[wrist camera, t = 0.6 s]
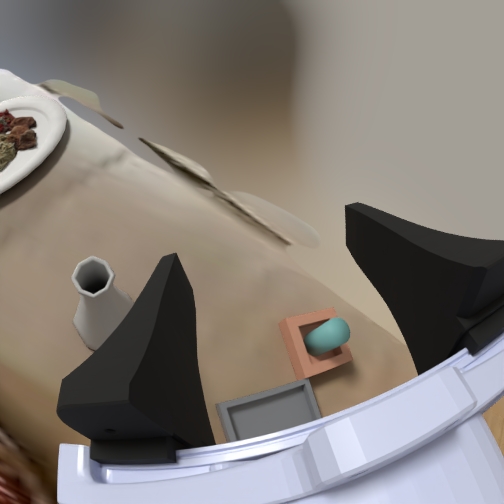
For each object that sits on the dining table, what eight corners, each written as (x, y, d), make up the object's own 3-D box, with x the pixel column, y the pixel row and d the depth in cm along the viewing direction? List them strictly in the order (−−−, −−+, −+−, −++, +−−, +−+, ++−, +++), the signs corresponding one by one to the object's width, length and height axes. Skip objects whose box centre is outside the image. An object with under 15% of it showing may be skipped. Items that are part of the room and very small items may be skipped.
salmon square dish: (344, 363, 32) (353, 359, 31) (297, 380, 29) (305, 378, 28) (325, 312, 35) (333, 307, 34) (278, 323, 32) (285, 318, 31)
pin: (328, 352, 32) (353, 340, 28) (308, 359, 30) (332, 347, 27) (320, 329, 33) (344, 314, 29) (299, 335, 32) (322, 320, 28)
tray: (326, 456, 25) (334, 457, 23) (243, 490, 20) (249, 493, 19) (301, 379, 29) (308, 377, 28) (215, 403, 25) (218, 403, 24)
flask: (155, 316, 28) (161, 270, 20) (114, 370, 23) (98, 347, 15) (104, 276, 28) (93, 218, 20) (62, 324, 23) (30, 280, 16)
